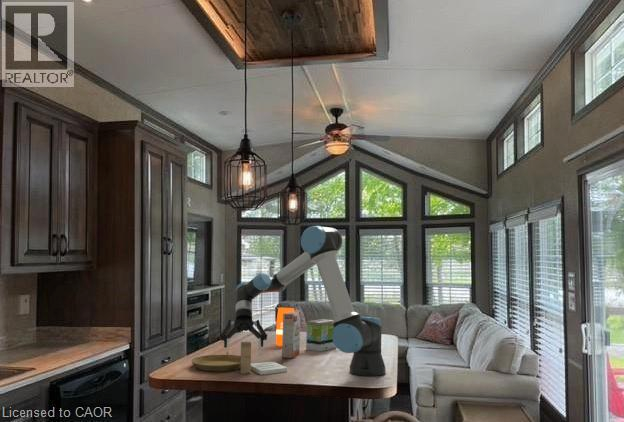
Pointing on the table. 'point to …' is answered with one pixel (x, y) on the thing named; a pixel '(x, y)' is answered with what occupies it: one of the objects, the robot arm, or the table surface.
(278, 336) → the orange juice
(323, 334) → the tea box
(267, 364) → the board
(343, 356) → the table surface
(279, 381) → the table surface
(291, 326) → the cracker box
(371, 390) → the table surface
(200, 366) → the plant saucer
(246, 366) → the block
